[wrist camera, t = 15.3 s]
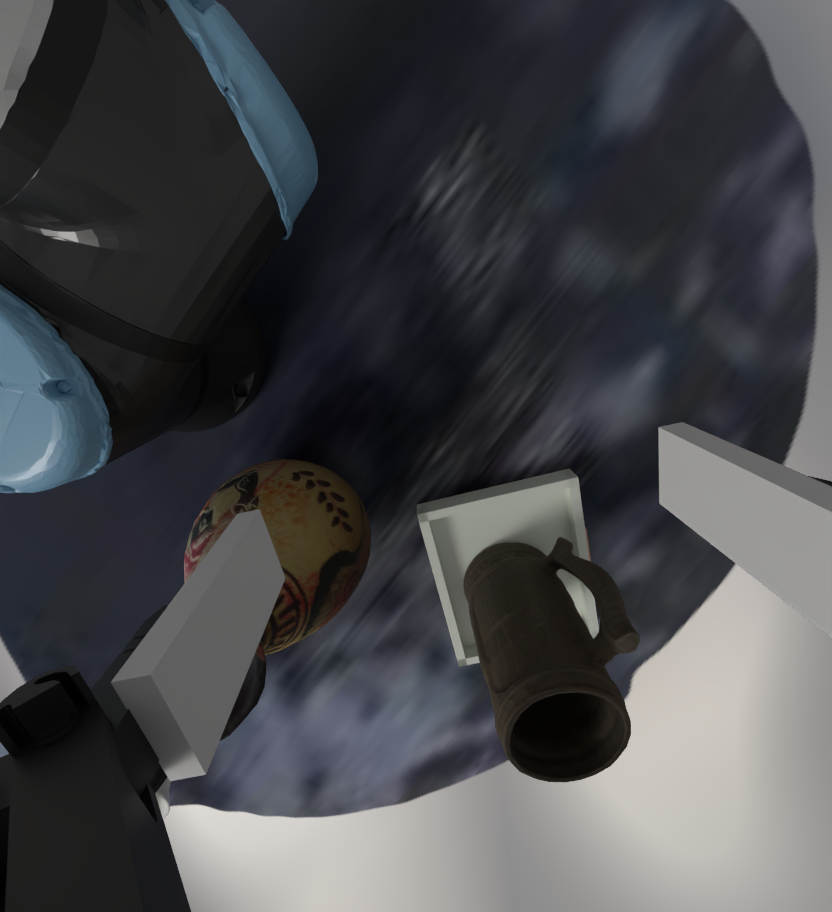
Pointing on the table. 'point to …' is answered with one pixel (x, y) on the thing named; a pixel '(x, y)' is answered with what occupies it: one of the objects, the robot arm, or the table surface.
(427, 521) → the tray
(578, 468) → the table surface
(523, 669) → the beer stein
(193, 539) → the ceramic jug
